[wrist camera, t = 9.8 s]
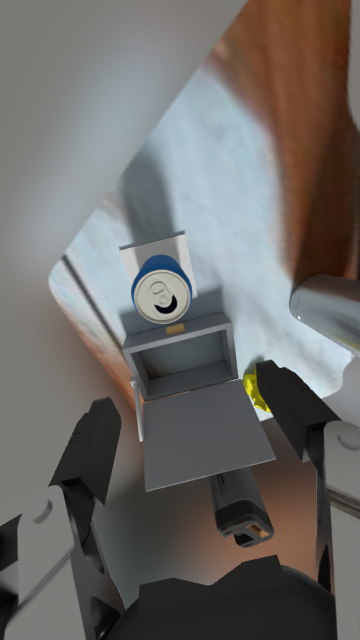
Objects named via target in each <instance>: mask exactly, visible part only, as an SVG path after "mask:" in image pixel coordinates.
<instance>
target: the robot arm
mask: <svg viewBox="0 0 360 640" xmlns="http://www.w3.org/2000/svg"><path fill="white" fill-rule="evenodd" d="M290 311H291V313H292V315H293V316H294V317H295V318H296V319H297V320H299V321H300V322H302V323H304V324H305V325H307V326H309V327H310V328H312V329H313V330H315V331H317V332H318V333H320V334H322V335H323V336H325V337H327V338H328V339H330V340H332V341H333V342H335V343H337V344H338V345H340V346H342V347H343V348H345V349H347V350H348V351H350V352H352V353H353V354H355V355H357V356H358V357H360V281H356V280H352V279H347V278H343V277H337V276H332V275H328V274H317V275H313V276H311V277H309V278H307V279H306V280H304V281H303V282H302V283H301V284H300V285H299V286H298V287H297V288H296V290H295V291H294V293H293V295H292V297H291V300H290ZM256 377H257V387H258V390H259V393H260V395H261V397H262V398H263V400H264V402H265V403H266V405H267V406H268V408H269V410H270V411H271V413H272V414H273V416H274V418H275V419H276V421H277V422H278V424H279V426H280V427H281V429H282V431H283V432H284V434H285V435H286V437H287V439H288V440H289V442H290V443H291V445H292V447H293V448H294V450H295V451H296V453H297V455H298V456H299V458H300V460H301V461H302V462H306V461H310V460H311V461H312V463H313V464H314V466H315V467H316V469H317V471H316V476H317V479H316V480H317V481H316V482H317V537H316V581H315V580H313V579H312V578H310V577H309V576H307V575H306V574H304V573H302V572H300V571H298V570H296V569H294V568H291V567H288V566H285V565H280V562H279V560H278V557H277V555H272V556H268V557H263V558H259V559H254V560H250V561H245V562H242V563H241V564H240V565H238V566H237V567H236V568H234V569H233V570H232V571H230V572H229V573H227V574H226V575H225V576H224V577H222V578H221V579H219V580H218V581H217V582H215V583H214V584H212V585H209V586H207V585H202V584H198V583H193V582H189V581H185V580H181V579H177V578H169V579H165V580H160V581H156V582H152V583H148V584H143V585H140V587H139V588H140V589H139V598H138V599H137V600H136V601H135V602H133V603H132V604H131V605H130V606H129V607H128V608H127V610H126V608H125V605H124V602H123V599H122V597H121V595H120V592H119V590H118V588H117V586H116V584H115V583H114V581H113V579H112V577H111V575H110V572H109V570H108V567H107V564H106V560H105V557H104V554H103V551H102V548H101V545H100V542H99V539H98V536H97V532H96V529H95V526H94V523H93V521H92V515H93V511H94V509H95V508H99V507H104V505H105V501H106V496H107V491H108V487H109V482H110V477H111V473H112V468H113V463H114V458H115V454H116V449H117V444H118V439H119V435H120V430H121V417H120V414H119V413H118V411H117V409H116V407H115V405H114V403H113V401H112V400H111V398H110V397H107V398H102V399H98V400H95V401H93V403H92V405H91V408H90V410H89V412H88V413H85V414H84V415H83V416H82V418H81V419H80V420H79V421H78V423H77V425H76V427H75V429H74V432H73V433H72V436H71V438H70V440H69V442H68V446H67V447H66V449H65V451H64V453H63V455H62V458H61V460H60V462H59V464H58V466H57V469H56V471H55V473H54V475H53V478H52V480H51V482H50V484H49V486H48V487H47V488H45V489H44V490H42V491H41V492H40V493H38V494H37V495H36V496H35V497H34V498H33V499H32V500H31V502H30V503H29V504H28V506H27V507H26V508H25V510H24V512H23V513H22V514H20V515H19V516H17V517H15V518H13V519H12V520H10V521H8V522H7V523H5V524H3V525H2V526H0V640H360V428H359V427H358V426H356V425H353V424H351V423H348V422H344V421H342V420H341V419H340V418H339V417H338V416H337V415H336V414H335V413H334V412H333V411H332V410H331V409H330V408H329V407H328V406H327V405H326V404H325V403H324V402H323V401H322V400H321V399H320V398H319V397H318V396H317V395H316V394H315V393H314V391H313V390H311V389H310V387H309V386H308V385H307V384H306V383H304V382H303V380H302V379H301V378H300V377H299V376H298V375H297V374H296V373H295V372H293V371H291V370H289V369H287V368H286V367H283V368H279V367H278V366H277V365H276V364H275V363H274V361H272V360H267V361H263V362H258V363H256Z"/></svg>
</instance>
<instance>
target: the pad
mask: <svg viewBox="0 0 360 640" xmlns="http://www.w3.org/2000/svg"><path fill="white" fill-rule="evenodd" d="M120 254H121V257H122V260H123V263H124V265H125V268H126V271H127V274H128V277H129V280H130V283H131V285H132V284H133V282H134V279H135V278H136V276H137V274H138V272H139V271H140V269H141V267H142V266H143V264H144V263H145V261H146V260H148V259H149V258H150V257H152V256H155V255H167V256H170V257H172V258H173V259H174V260H176V261H177V263H178V264H179V265H180V267H181V268H182V270H183V271H184V272H185V274H186V275H187V277H188V278H189V280H190V283H191V286H192V292H193V293H192V299H193V298H197V297H198V296H197V291H196V286H195V281H194V276H193V271H192V266H191V261H190V256H189V251H188V246H187V241H186V236H185V234H183V235H179V236H175V237H171V238H167V239H163V240H159V241H155V242H152V243H148V244H144V245H140V246H136V247H132V248H128V249H124V250H120Z"/></svg>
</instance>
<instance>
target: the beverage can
mask: <svg viewBox="0 0 360 640" xmlns="http://www.w3.org/2000/svg"><path fill="white" fill-rule="evenodd" d="M192 293H193V292H192V286H191V283H190V280H189V278H188V277H187V275H186V274H185V272H184V271H183V270H182V268H181V267H180V265H179V264H178V263H177V261H176V260H174V259H173V258H172V257H170V256H167V255H155V256H152V257H150V258H149V259H148V260H146V261H145V263H144V264H143V266H142V267H141V269H140V271H139V272H138V274H137V276H136V278H135V279H134V282H133V284H132V289H131V296H132V301H133V303H134V306H135V308H136V309H137V310H138V312H139V313H140V314H141V315H142V316H143V317H144V318H146V319H147V320H149V321H151V322H154V323H158V324H167V323H171V322H174V321H176V320H178V319H179V318H181V317H182V316H183V315H184V314H185V312H186V311H187V309H188V308H189V306H190V304H191V301H192Z"/></svg>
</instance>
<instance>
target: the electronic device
mask: <svg viewBox="0 0 360 640" xmlns="http://www.w3.org/2000/svg"><path fill="white" fill-rule="evenodd" d="M207 479H208V484H209V490H210V494H211V500H212V505H213V511H214V515H215V520H216V525H217V530H218V532H219V533H220V534H221V535H222V536H223V537H227V536H230V535H232V534H234V537H235V541H236V543H237V544H238V545H239V546H240V547H243V548H247V547H251V546H254V545H257V544H259V543H261V542H264V541H266V540H269V539H270V538H272V537H273V534H274V529H273V527H272V524H271V522H270V519H269V516H268V514H267V511H266V508H265V506H264V503H263V501H262V498H261V496H260V493H259V491H258V488H257V485H256V483H255V480H254V478H253V475H252V472H251V470H250V468H249V466H247V467H243V468H239V469H235V470H231V471H227V472H223V473H219V474H215V475H211V476H207Z"/></svg>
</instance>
